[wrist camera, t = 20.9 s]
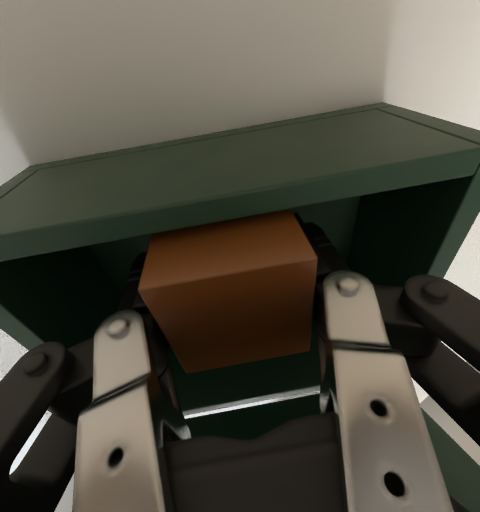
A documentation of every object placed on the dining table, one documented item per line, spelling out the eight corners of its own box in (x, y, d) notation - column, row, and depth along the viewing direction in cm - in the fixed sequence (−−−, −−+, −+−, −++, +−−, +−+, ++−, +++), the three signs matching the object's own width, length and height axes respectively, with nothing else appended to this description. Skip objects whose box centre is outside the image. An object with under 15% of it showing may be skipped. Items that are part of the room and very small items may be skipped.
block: (159, 203, 9) (135, 289, 6) (276, 182, 9) (318, 256, 6) (190, 284, 12) (185, 374, 9) (279, 268, 12) (310, 351, 9)
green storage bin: (28, 165, 11) (-99, 253, 6) (384, 101, 11) (519, 140, 6) (144, 336, 20) (127, 426, 15) (344, 299, 20) (389, 377, 15)
